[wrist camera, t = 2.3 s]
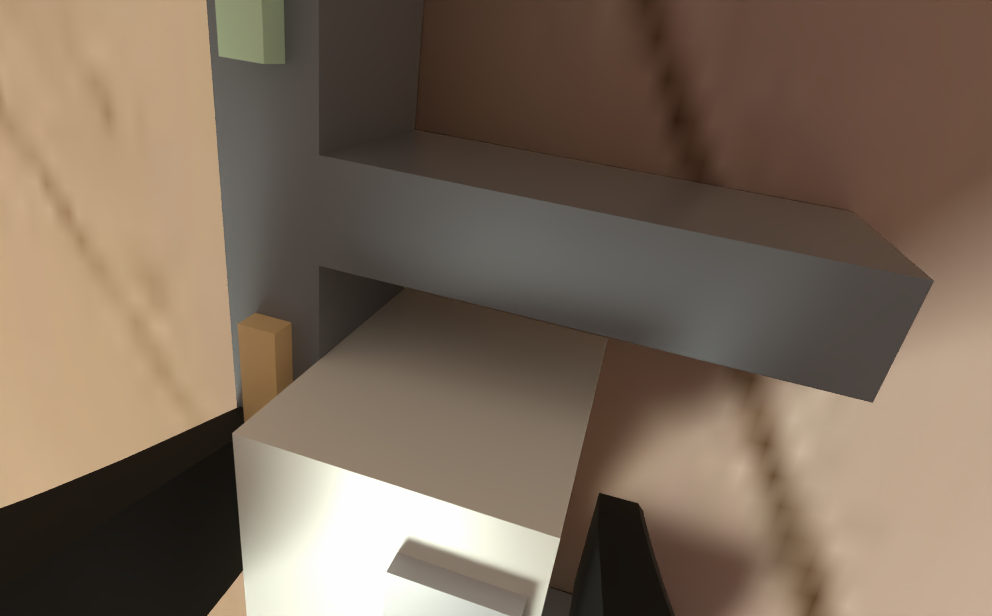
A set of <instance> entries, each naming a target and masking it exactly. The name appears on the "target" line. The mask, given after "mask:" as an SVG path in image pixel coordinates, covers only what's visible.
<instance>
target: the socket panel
mask: <svg viewBox="0 0 992 616" xmlns="http://www.w3.org/2000/svg"><path fill="white" fill-rule="evenodd" d="M206 1H207V14H208V27H209V40H210V54H211V67H212V80H213V94H214V107H215V120H216V133H217V147H218V160H219V173H220V186H221V200H222V213H223V226H224V240H225V253H226V266H227V279H228V293H229V306H230V319H231V333H232V346H233V359H234V372H235V386H236V399H237V408H238V407H243V411H244V422H246V421H247V420H249V419H250V418H251V417H252V416H253V415H254V414H256V413H257V412H258V411H259V410H260V409H262V408H263V407H264V406H265V405H266V404H268V403H269V402H270V401H271V400H272V399H274V398H275V397H276V396H277V395H278V394H279V393H281V392H282V391H283V390H284V389H285V388H287V387H288V386H289V385H290V384H291V383H293V382H294V381H295V380H296V379H297V378H298V377H300V376H301V375H302V374H303V373H304V372H306V371H307V370H308V369H309V368H310V367H312V366H313V365H314V364H315V363H316V362H318V361H319V360H320V359H321V358H322V357H323V356H325V355H326V354H327V353H328V352H329V351H331V350H332V349H333V348H334V347H335V346H337V345H338V344H339V343H340V342H341V341H343V340H344V339H345V338H346V337H347V336H348V335H350V334H351V333H352V332H353V331H354V330H356V329H357V328H358V327H359V326H360V325H362V324H363V323H364V322H365V321H366V320H367V319H369V318H370V317H371V316H372V315H373V314H375V313H376V312H377V311H378V310H379V309H381V308H382V307H383V306H384V305H385V304H387V303H388V302H389V301H390V300H391V299H392V298H394V297H395V296H396V295H397V294H398V293H400V292H401V291H402V290H403V289H404V287H407V288H411V289H415V290H419V291H423V292H427V293H431V294H435V295H439V296H443V297H447V298H452V299H456V300H460V301H464V302H468V303H472V304H476V305H480V306H484V307H488V308H492V309H496V310H500V311H504V312H508V313H512V314H516V315H520V316H524V317H528V318H532V319H536V320H541V321H545V322H549V323H553V324H557V325H561V326H565V327H569V328H573V329H577V330H581V331H585V332H589V333H593V334H597V335H601V336H605V337H609V338H613V339H617V340H621V341H626V342H630V343H634V344H638V345H642V346H646V347H650V348H654V349H658V350H662V351H666V352H670V353H674V354H678V355H682V356H686V357H690V358H694V359H698V360H702V361H706V362H710V363H715V364H719V365H723V366H727V367H731V368H735V369H739V370H743V371H747V372H751V373H755V374H759V375H763V376H767V377H771V378H775V379H779V380H783V381H787V382H791V383H795V384H800V385H804V386H808V387H812V388H816V389H820V390H824V391H828V392H832V393H836V394H840V395H844V396H848V397H852V398H856V399H860V400H864V401H868V402H872V403H873V401H874V399H875V397H876V395H877V393H878V391H879V389H880V387H881V385H882V383H883V381H884V379H885V377H886V375H887V373H888V371H889V369H890V367H891V365H892V363H893V361H894V359H895V357H896V355H897V353H898V351H899V349H900V347H901V345H902V343H903V341H904V339H905V337H906V335H907V333H908V331H909V329H910V327H911V325H912V323H913V321H914V319H915V317H916V315H917V313H918V311H919V309H920V307H921V305H922V303H923V301H924V299H925V297H926V295H927V293H928V291H929V289H930V287H931V285H932V283H933V281H934V280H932V279H931V278H930V277H929V276H928V275H927V274H925V273H924V272H923V271H922V270H921V269H919V268H918V267H917V266H916V265H915V264H914V263H912V262H911V261H910V260H909V259H908V258H907V257H905V256H904V255H903V254H902V253H901V252H900V251H898V250H897V249H896V248H895V247H894V246H893V245H891V244H890V243H889V242H888V241H887V240H886V239H884V238H883V237H882V236H881V235H880V234H879V233H877V232H876V231H875V230H874V229H873V228H872V227H870V226H869V225H868V224H867V223H866V222H865V221H863V220H862V219H861V218H860V217H859V216H858V215H856V214H855V213H854V212H852V211H847V210H841V209H836V208H831V207H825V206H820V205H815V204H809V203H804V202H799V201H793V200H788V199H783V198H777V197H772V196H767V195H761V194H756V193H751V192H745V191H740V190H735V189H729V188H724V187H719V186H713V185H708V184H703V183H697V182H692V181H687V180H681V179H676V178H671V177H665V176H660V175H655V174H649V173H644V172H639V171H633V170H628V169H623V168H617V167H612V166H607V165H601V164H596V163H591V162H585V161H580V160H575V159H569V158H564V157H559V156H553V155H548V154H543V153H537V152H532V151H527V150H521V149H516V148H511V147H505V146H500V145H495V144H489V143H484V142H479V141H473V140H468V139H463V138H457V137H452V136H447V135H441V134H436V133H431V132H425V131H420V130H415V120H416V106H417V92H418V77H419V63H420V48H421V34H422V19H423V5H424V0H206ZM571 601H572V595H571V594H568V593H565V592H562V591H559V590H556V589H553V588H550V587H548V590H547V594H546V598H545V602H544V606H543V610H542V614H541V616H569V613H570V607H571Z"/></svg>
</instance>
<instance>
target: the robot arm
mask: <svg viewBox="0 0 992 616" xmlns="http://www.w3.org/2000/svg"><path fill="white" fill-rule="evenodd" d="M244 423H245V422H244V411H243V407H238V408H236V409H233V410H231V411H229V412H227V413H224V414H222V415H220V416H218V417H215V418H213V419H211V420H209V421H207V422H205V423H202V424H200V425H198V426H196V427H194V428H191V429H189V430H187V431H185V432H183V433H181V434H178V435H176V436H174V437H172V438H170V439H167V440H165V441H163V442H161V443H158V444H156V445H154V446H152V447H150V448H147V449H145V450H143V451H141V452H138V453H136V454H134V455H132V456H130V457H127V458H125V459H123V460H121V461H118V462H116V463H113V464H111V465H108V466H106V467H104V468H101V469H99V470H96V471H94V472H92V473H89V474H87V475H84V476H82V477H79V478H77V479H75V480H72V481H70V482H67V483H65V484H62V485H60V486H58V487H55V488H53V489H50V490H48V491H45V492H43V493H40V494H38V495H35V496H33V497H30V498H27V499H25V500H22V501H19V502H17V503H14V504H11V505H8V506H6V507H3V508H0V616H207V615H208V614H209V612H210V611H211V610H212V609H213V607H214V606H215V605H216V604H217V602H218V601H219V600H220V599H221V597H222V596H223V595H224V594H225V592H226V591H227V590H228V589H229V587H230V586H231V585H232V584H233V582H234V581H235V580H236V578H237V577H238V576H239V575H240V573H241V572H242V571H243V562H242V550H241V537H240V525H239V512H238V500H237V487H236V475H235V462H234V450H233V437H232V433H233V432H234V431H235V430H237V429H238V428H239V427H240V426H241V425H243V424H244ZM569 616H675V614H674V612H673V609H672V606H671V604H670V601H669V598H668V595H667V592H666V589H665V587H664V584H663V581H662V577H661V574H660V571H659V568H658V565H657V562H656V559H655V555H654V552H653V548H652V545H651V541H650V538H649V534H648V530H647V526H646V522H645V518H644V513H643V510H642V509H641V507H640V506H639V504H638V503H635V502H631V501H627V500H624V499H620V498H616V497H612V496H609V495H605V494H601V493H599V496H598V499H597V503H596V506H595V510H594V514H593V517H592V521H591V525H590V528H589V532H588V536H587V539H586V543H585V546H584V550H583V554H582V557H581V561H580V565H579V568H578V572H577V575H576V579H575V583H574V589H573V595H572V601H571V607H570V613H569Z"/></svg>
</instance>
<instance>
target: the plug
mask: <svg viewBox="0 0 992 616" xmlns="http://www.w3.org/2000/svg"><path fill="white" fill-rule="evenodd" d="M607 342H608V338H605V337H601V336H597V335H593V334H589V333H585V332H581V331H577V330H573V329H569V328H565V327H561V326H557V325H553V324H549V323H545V322H541V321H537V320H533V319H529V318H525V317H520V316H516V315H512V314H508V313H504V312H500V311H496V310H492V309H488V308H484V307H480V306H476V305H472V304H468V303H464V302H460V301H456V300H452V299H448V298H444V297H440V296H436V295H432V294H427V293H423V292H419V291H415V290H411V289H407V288H404V289H403V290H402V291H401V292H400V293H398V294H397V295H396V296H395V297H394V298H392V299H391V300H390V301H389V302H388V303H387V304H385V305H384V306H383V307H382V308H381V309H379V310H378V311H377V312H376V313H375V314H373V315H372V316H371V317H370V318H369V319H367V320H366V321H365V322H364V323H363V324H362V325H360V326H359V327H358V328H357V329H356V330H354V331H353V332H352V333H351V334H350V335H348V336H347V337H346V338H345V339H344V340H343V341H341V342H340V343H339V344H338V345H337V346H335V347H334V348H333V349H332V350H331V351H329V352H328V353H327V354H326V355H325V356H323V357H322V358H321V359H320V360H319V361H318V362H316V363H315V364H314V365H313V366H312V367H310V368H309V369H308V370H307V371H306V372H304V373H303V374H302V375H301V376H300V377H298V378H297V379H296V380H295V381H294V382H293V383H291V384H290V385H289V386H288V387H287V388H285V389H284V390H283V391H282V392H281V393H279V394H278V395H277V396H276V397H275V398H274V399H272V400H271V401H270V402H269V403H268V404H266V405H265V406H264V407H263V408H262V409H260V410H259V411H258V412H257V413H256V414H254V415H253V416H252V417H251V418H250V419H249V420H247V421H246V422H245V423H244V424H243V425H241V426H240V427H239V428H238V429H237V430H235V431H234V432H233V433H232V437H233V450H234V462H235V475H236V487H237V500H238V512H239V525H240V537H241V550H242V562H243V574H244V587H245V599H246V612H247V616H541V614H542V610H543V606H544V602H545V598H546V594H547V590H548V586H549V582H550V578H551V574H552V570H553V566H554V562H555V558H556V554H557V550H558V546H559V542H560V537H561V533H562V529H563V525H564V521H565V517H566V512H567V508H568V504H569V500H570V496H571V492H572V487H573V483H574V479H575V475H576V471H577V467H578V462H579V458H580V454H581V450H582V446H583V442H584V437H585V433H586V429H587V425H588V421H589V417H590V412H591V408H592V404H593V400H594V396H595V392H596V387H597V383H598V379H599V375H600V371H601V367H602V362H603V358H604V354H605V350H606V346H607Z"/></svg>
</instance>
